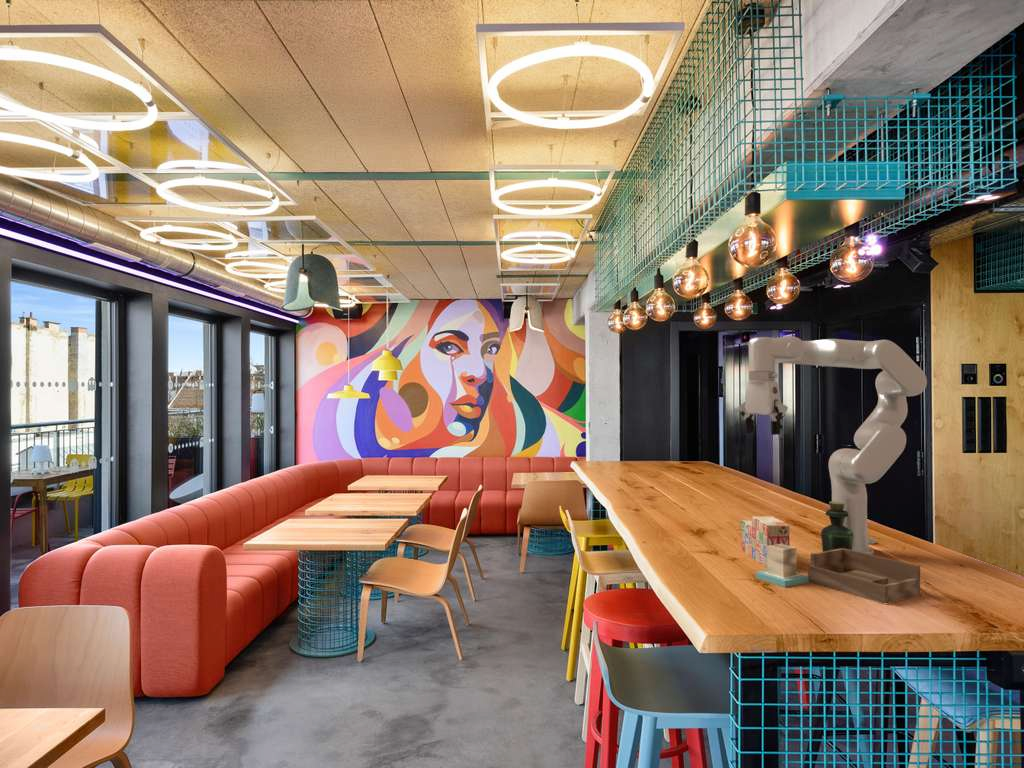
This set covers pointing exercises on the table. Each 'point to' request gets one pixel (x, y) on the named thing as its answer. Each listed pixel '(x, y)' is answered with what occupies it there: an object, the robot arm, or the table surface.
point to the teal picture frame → (782, 579)
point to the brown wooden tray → (865, 575)
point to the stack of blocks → (763, 536)
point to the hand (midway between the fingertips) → (762, 433)
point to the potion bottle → (836, 529)
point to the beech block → (781, 560)
